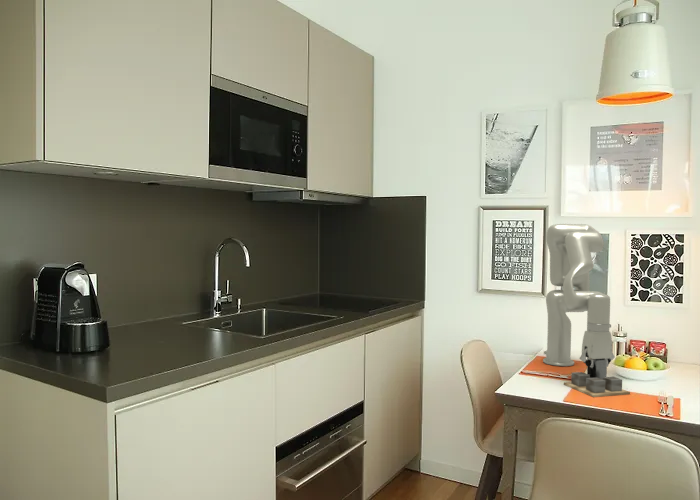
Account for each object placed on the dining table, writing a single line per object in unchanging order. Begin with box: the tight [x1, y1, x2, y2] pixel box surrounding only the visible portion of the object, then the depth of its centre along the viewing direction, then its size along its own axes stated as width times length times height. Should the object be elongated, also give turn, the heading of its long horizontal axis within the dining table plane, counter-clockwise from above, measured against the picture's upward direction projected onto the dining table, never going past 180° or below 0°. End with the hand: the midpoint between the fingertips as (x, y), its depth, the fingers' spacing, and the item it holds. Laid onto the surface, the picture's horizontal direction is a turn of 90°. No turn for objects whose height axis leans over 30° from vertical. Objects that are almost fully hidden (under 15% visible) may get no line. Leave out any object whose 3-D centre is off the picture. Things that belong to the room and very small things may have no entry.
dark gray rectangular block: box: [590, 359, 608, 380], centre depth 208 cm, size 4×4×8 cm
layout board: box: [563, 371, 631, 398], centre depth 203 cm, size 16×15×5 cm
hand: (596, 376), depth 208 cm, fingers closed on dark gray rectangular block, 4 cm apart
